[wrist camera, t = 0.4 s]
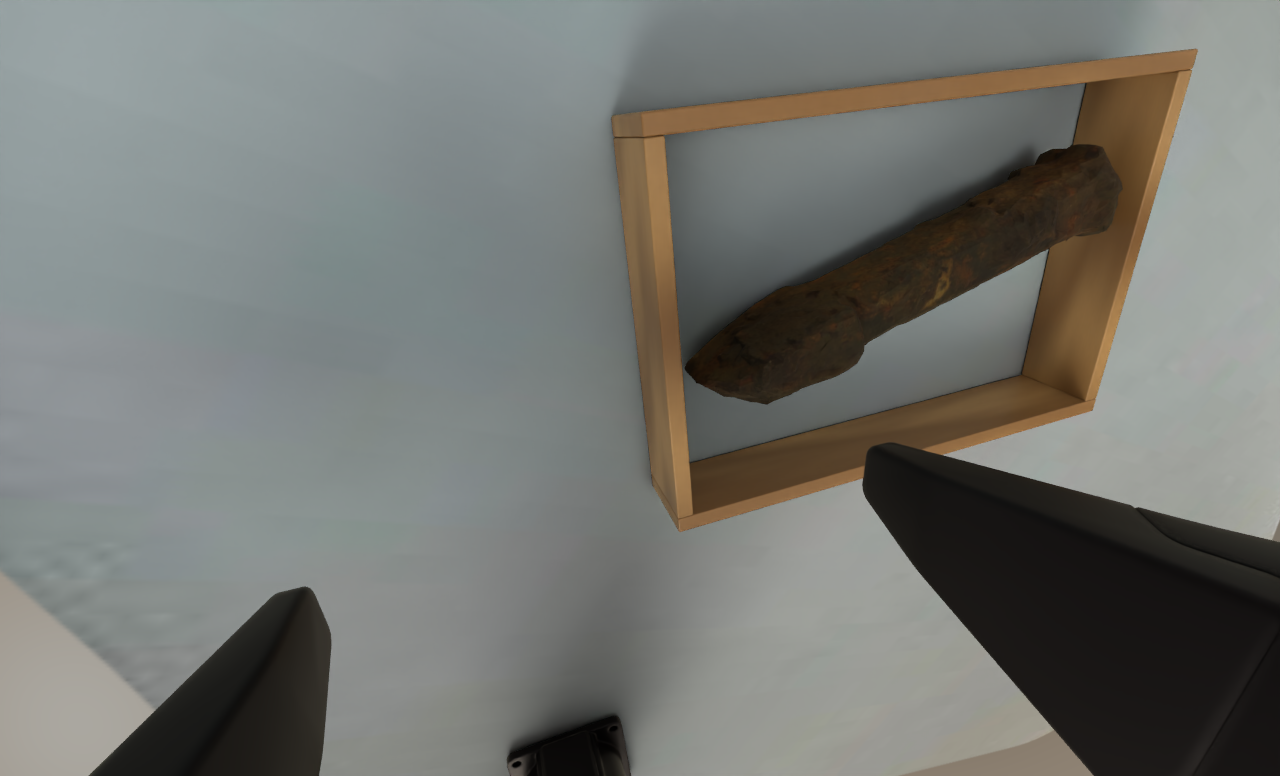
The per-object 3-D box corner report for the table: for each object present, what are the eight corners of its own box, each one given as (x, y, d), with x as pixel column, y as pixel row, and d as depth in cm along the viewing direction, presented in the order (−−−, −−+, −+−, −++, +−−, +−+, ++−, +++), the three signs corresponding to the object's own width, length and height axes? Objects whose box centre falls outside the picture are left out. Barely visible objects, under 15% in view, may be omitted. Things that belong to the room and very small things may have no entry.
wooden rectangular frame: (1028, 383, 31) (1092, 410, 28) (652, 485, 26) (679, 532, 23) (1103, 59, 24) (1199, 48, 21) (610, 115, 19) (640, 111, 16)
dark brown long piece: (1039, 140, 25) (1152, 140, 21) (1037, 225, 27) (1141, 240, 23) (661, 306, 23) (705, 343, 19) (688, 387, 25) (733, 435, 21)
